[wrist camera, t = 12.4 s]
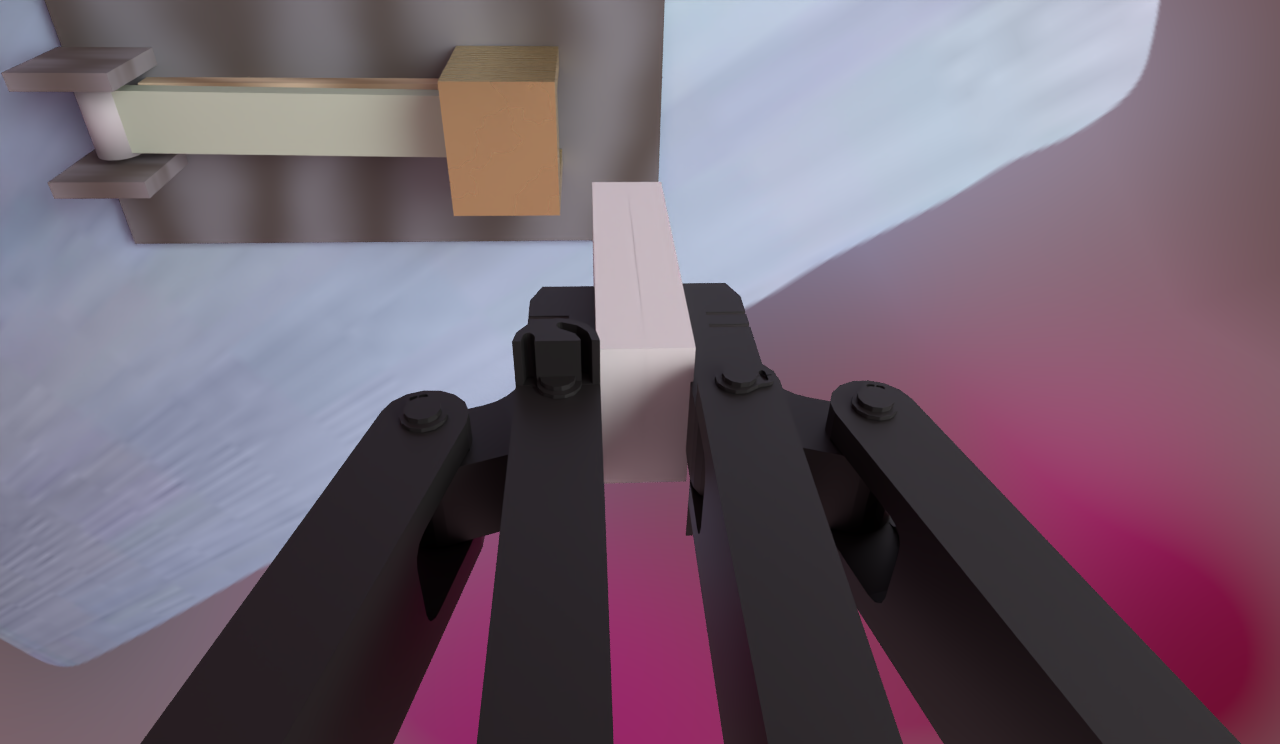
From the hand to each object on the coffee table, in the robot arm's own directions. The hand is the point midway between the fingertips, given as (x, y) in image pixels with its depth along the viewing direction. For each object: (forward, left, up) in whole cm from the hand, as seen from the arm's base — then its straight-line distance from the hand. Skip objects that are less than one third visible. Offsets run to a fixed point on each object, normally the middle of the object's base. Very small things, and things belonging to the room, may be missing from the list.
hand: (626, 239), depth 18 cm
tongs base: (-12, -5, -26) cm, 29 cm away
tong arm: (-14, -5, -25) cm, 29 cm away
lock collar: (-5, -5, -26) cm, 27 cm away
